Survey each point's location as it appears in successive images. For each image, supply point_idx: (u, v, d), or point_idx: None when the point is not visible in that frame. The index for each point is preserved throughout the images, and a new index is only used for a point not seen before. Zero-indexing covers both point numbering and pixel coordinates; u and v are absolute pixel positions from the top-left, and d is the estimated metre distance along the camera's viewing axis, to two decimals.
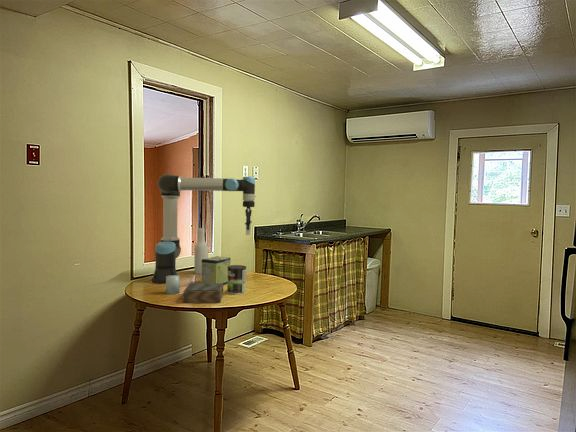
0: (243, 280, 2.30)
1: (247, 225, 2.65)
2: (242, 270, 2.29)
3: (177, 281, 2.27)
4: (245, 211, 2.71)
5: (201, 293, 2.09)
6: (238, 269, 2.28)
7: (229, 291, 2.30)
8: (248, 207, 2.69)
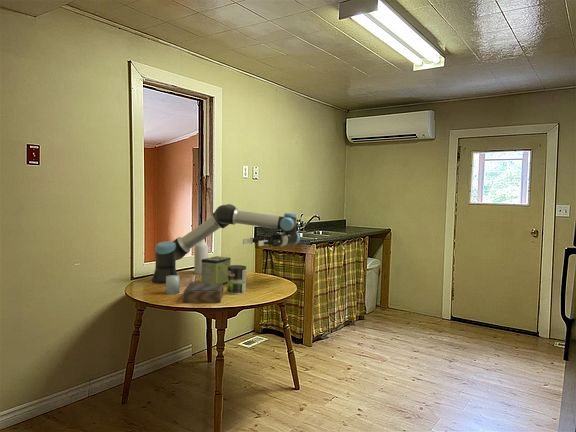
0: (243, 280, 2.30)
1: (268, 242, 2.38)
2: (242, 270, 2.29)
3: (177, 281, 2.27)
4: (272, 237, 2.48)
5: (201, 293, 2.09)
6: (238, 269, 2.28)
7: (229, 291, 2.30)
8: None
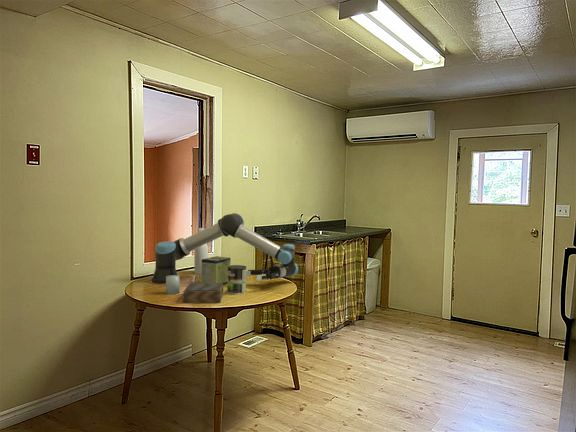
0: (243, 280, 2.30)
1: (266, 276, 2.37)
2: (242, 270, 2.29)
3: (177, 281, 2.27)
4: (270, 270, 2.47)
5: (201, 293, 2.09)
6: (238, 269, 2.28)
7: (229, 291, 2.30)
8: None
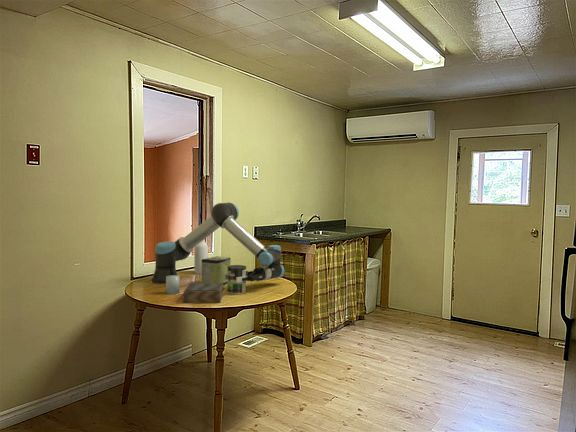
0: None
1: (247, 278, 2.30)
2: (242, 270, 2.29)
3: (177, 281, 2.27)
4: (255, 272, 2.39)
5: (201, 293, 2.09)
6: (238, 269, 2.28)
7: (229, 291, 2.30)
8: None
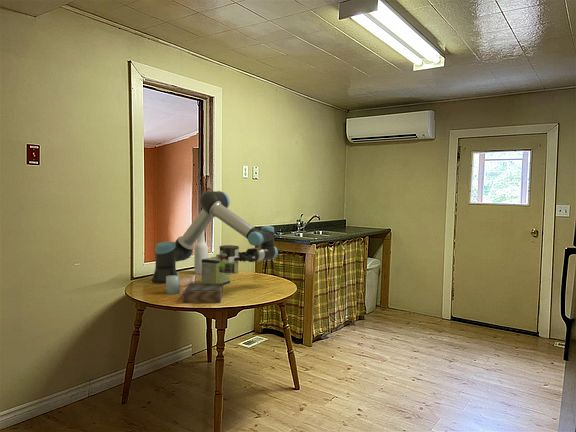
0: None
1: (239, 258, 2.23)
2: (234, 250, 2.23)
3: (177, 281, 2.27)
4: (247, 252, 2.33)
5: (201, 293, 2.09)
6: (230, 248, 2.22)
7: (221, 271, 2.24)
8: None
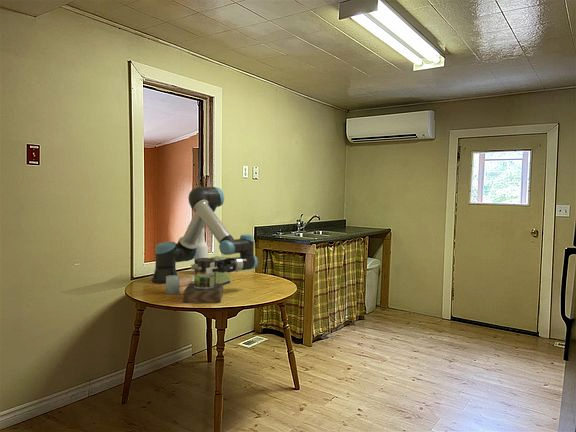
0: (211, 274, 2.15)
1: (218, 269, 2.14)
2: (210, 263, 2.14)
3: (177, 281, 2.27)
4: (225, 263, 2.24)
5: (201, 293, 2.09)
6: (205, 262, 2.13)
7: (196, 285, 2.14)
8: None
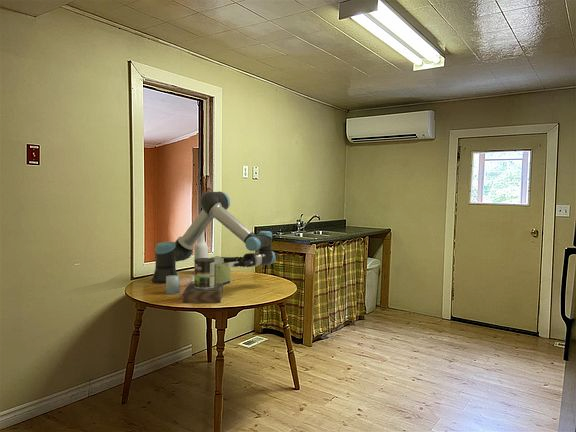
0: (211, 274, 2.15)
1: (239, 263, 2.24)
2: (209, 263, 2.14)
3: (177, 281, 2.27)
4: (245, 258, 2.34)
5: (201, 293, 2.09)
6: (205, 262, 2.13)
7: (196, 285, 2.14)
8: None
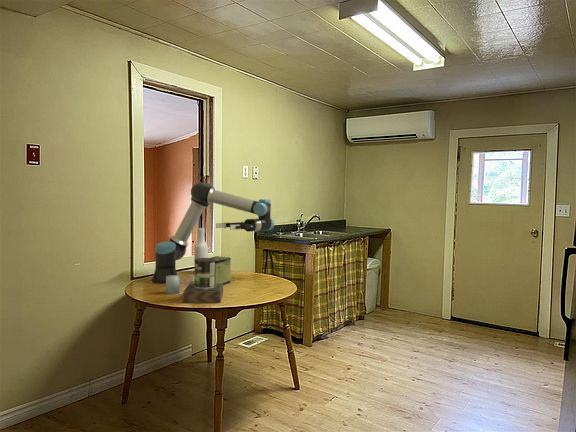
0: (211, 274, 2.15)
1: (240, 226, 2.40)
2: (210, 263, 2.14)
3: (177, 281, 2.27)
4: (245, 222, 2.50)
5: (201, 293, 2.09)
6: (205, 262, 2.12)
7: (196, 285, 2.14)
8: None
